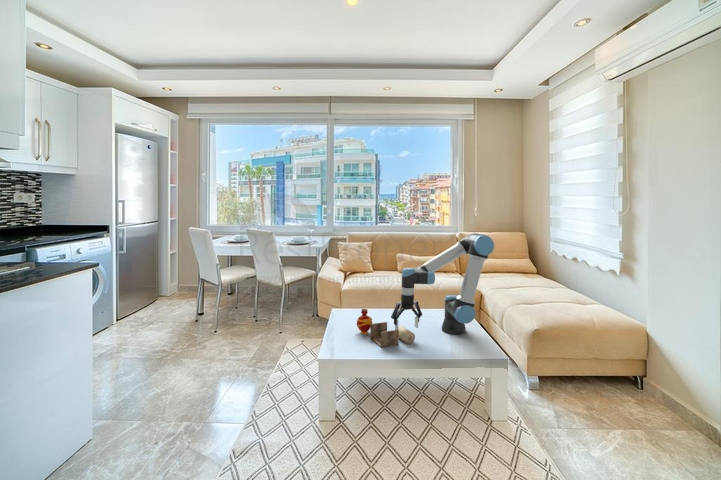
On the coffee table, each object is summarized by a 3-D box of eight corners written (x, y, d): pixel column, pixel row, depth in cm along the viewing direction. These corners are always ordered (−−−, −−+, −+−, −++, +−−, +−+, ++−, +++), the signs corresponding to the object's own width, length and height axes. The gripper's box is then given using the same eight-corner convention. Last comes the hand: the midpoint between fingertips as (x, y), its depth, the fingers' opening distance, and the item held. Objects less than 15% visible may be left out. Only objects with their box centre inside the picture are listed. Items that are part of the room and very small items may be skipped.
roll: (407, 333, 215) (403, 324, 213) (416, 340, 204) (413, 330, 202) (397, 339, 212) (394, 329, 211) (407, 346, 202) (403, 336, 200)
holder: (386, 335, 215) (386, 321, 214) (398, 345, 201) (398, 329, 200) (370, 338, 211) (370, 324, 210) (381, 347, 197) (381, 332, 196)
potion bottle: (358, 336, 214) (358, 312, 213) (355, 330, 225) (355, 307, 223) (374, 335, 216) (374, 311, 215) (370, 329, 227) (370, 307, 225)
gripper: (422, 291, 214) (421, 324, 216) (386, 294, 204) (385, 328, 206) (429, 293, 207) (427, 328, 209) (391, 297, 197) (390, 333, 199)
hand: (406, 328), depth 208 cm, fingers open, 13 cm apart
